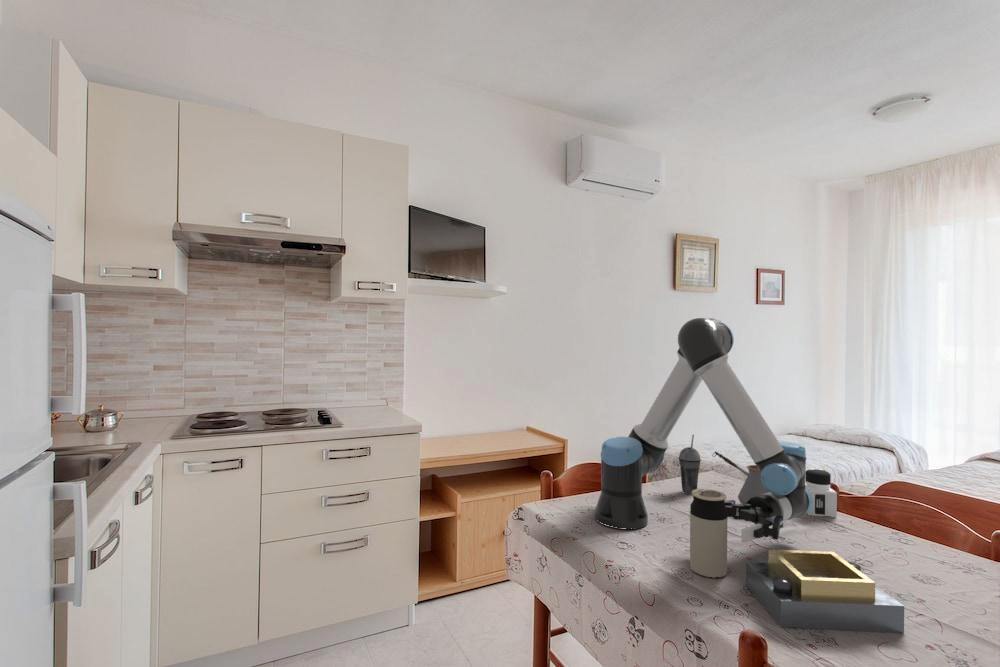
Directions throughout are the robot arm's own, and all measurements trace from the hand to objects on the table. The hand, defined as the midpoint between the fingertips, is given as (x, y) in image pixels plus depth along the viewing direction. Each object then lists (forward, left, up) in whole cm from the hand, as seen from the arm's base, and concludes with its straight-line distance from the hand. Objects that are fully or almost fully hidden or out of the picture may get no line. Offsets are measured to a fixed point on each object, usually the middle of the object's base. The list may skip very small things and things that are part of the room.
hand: (715, 525), depth 117 cm
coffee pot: (+25, +48, -11) cm, 55 cm away
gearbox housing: (+15, -14, -10) cm, 23 cm away
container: (+45, +42, -11) cm, 62 cm away
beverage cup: (+11, +58, -11) cm, 60 cm away
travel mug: (-2, 0, -11) cm, 11 cm away
